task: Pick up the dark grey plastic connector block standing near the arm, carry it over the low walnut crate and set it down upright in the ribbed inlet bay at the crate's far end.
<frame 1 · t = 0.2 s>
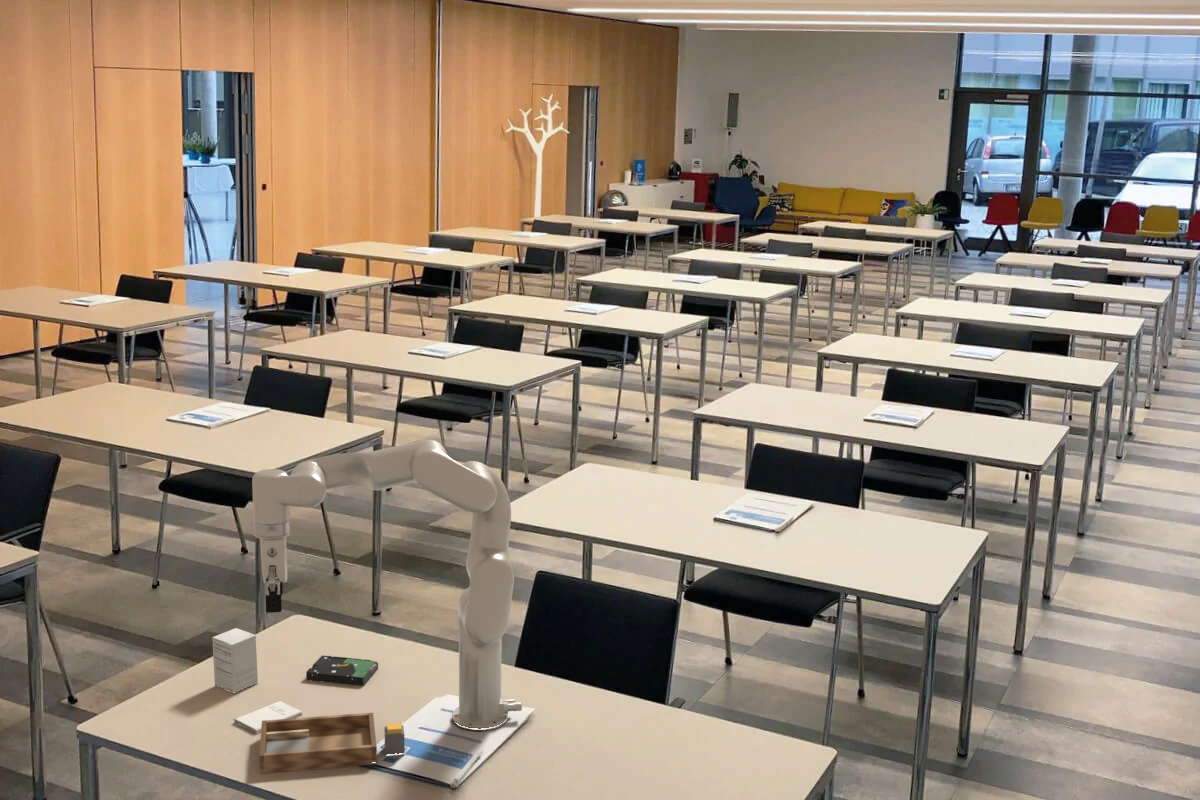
hand: (274, 603, 283), 31 cm above the table, tool pointing down, fingers open, 9 cm apart
connector: (394, 751, 284), on the table
supplement box: (236, 685, 313), on the table
crate: (318, 750, 283), on the table
external hard drive: (268, 721, 297), on the table
disk drive: (342, 677, 321), on the table
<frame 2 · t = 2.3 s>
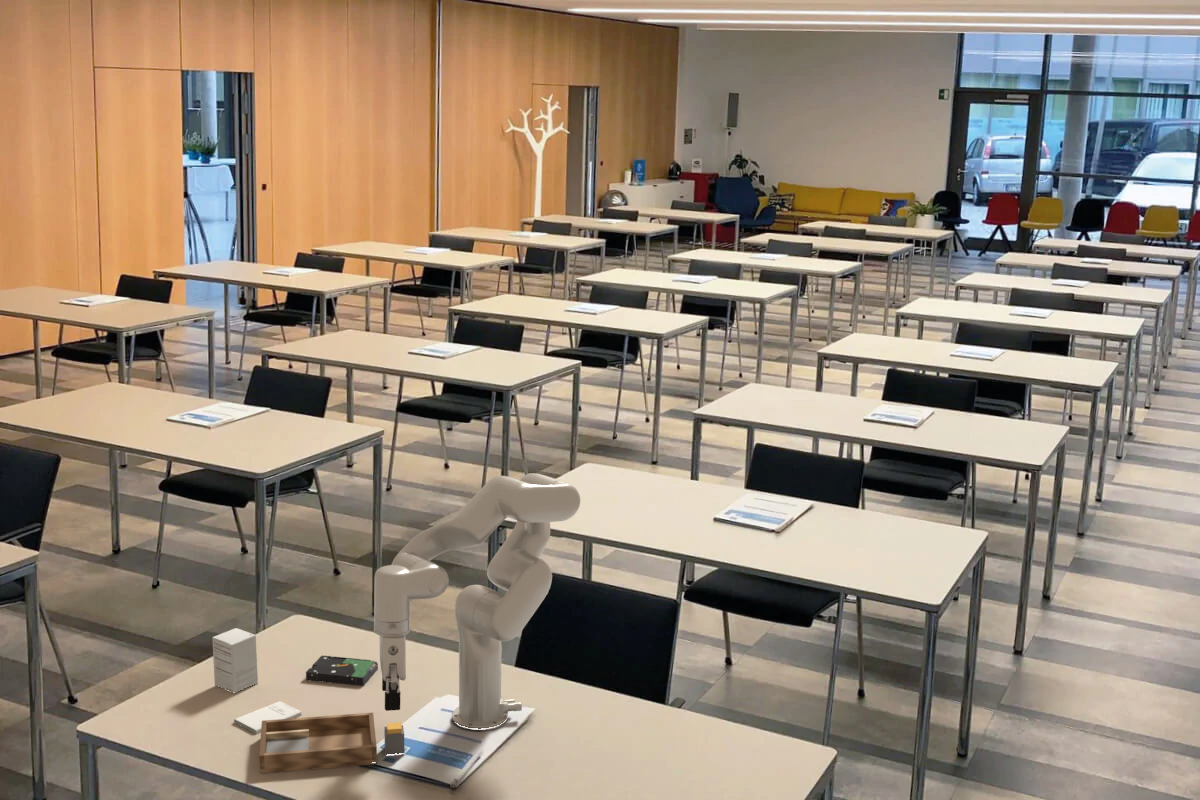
hand: (391, 699, 280), 12 cm above the table, tool pointing down, fingers open, 9 cm apart
nothing on the table moved.
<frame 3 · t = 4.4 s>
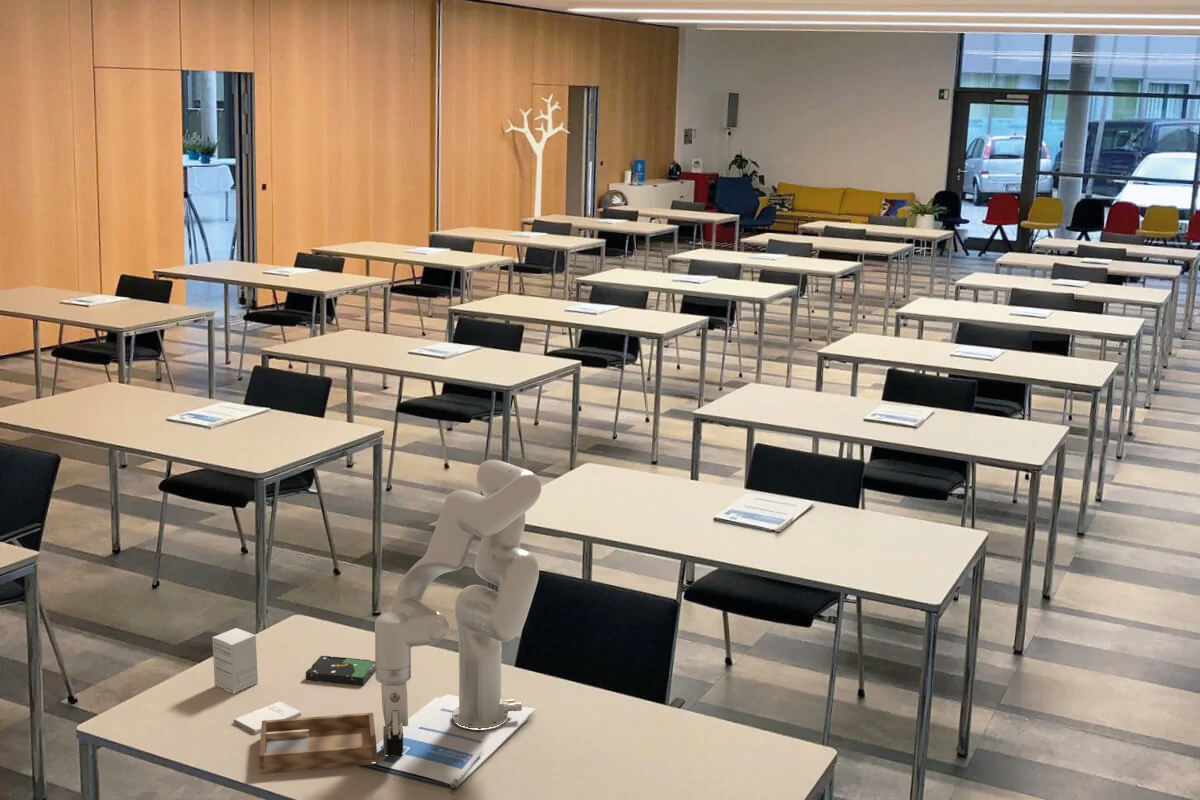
hand: (394, 748, 283), 1 cm above the table, tool pointing down, fingers closed on connector, 3 cm apart
connector: (393, 751, 283), on the table, touching gripper
everything else where it was.
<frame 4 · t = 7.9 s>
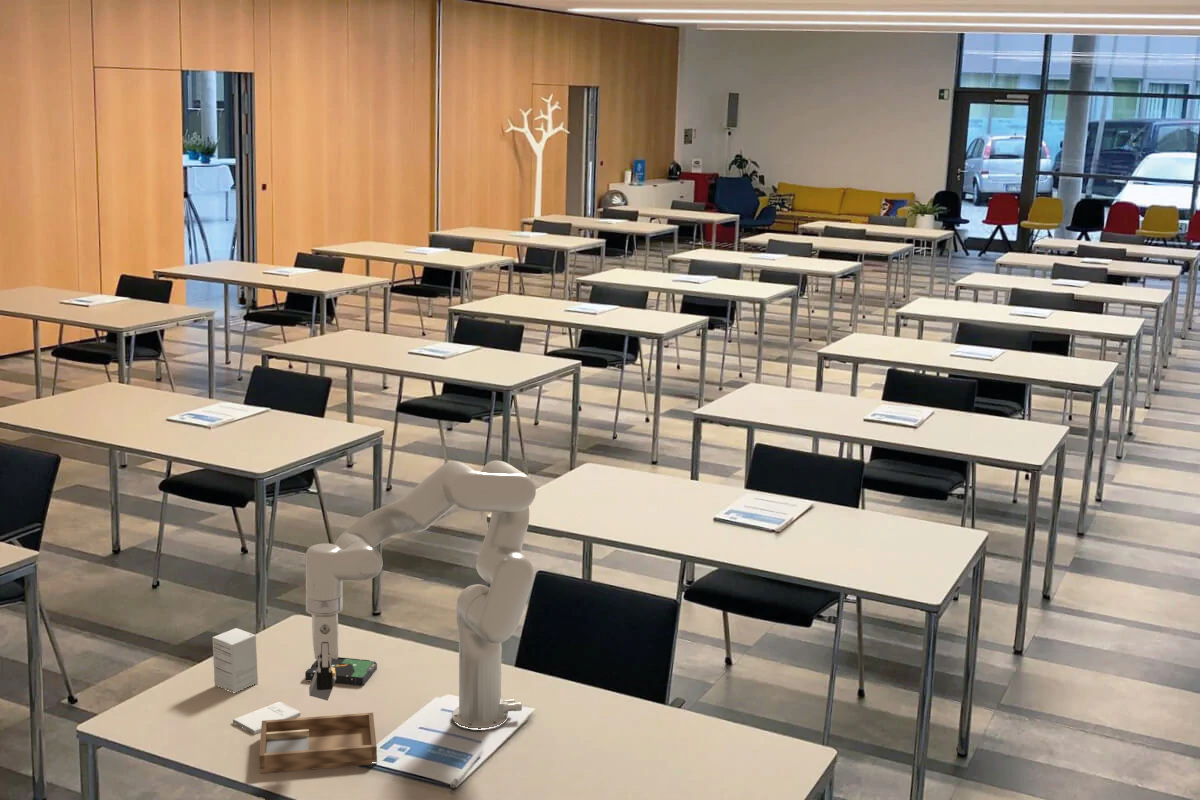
hand: (324, 683, 279), 16 cm above the table, tool pointing down, fingers closed on connector, 4 cm apart
connector: (318, 694, 279), point 14 cm above the table, tilted 22°, touching gripper
everything else where it was.
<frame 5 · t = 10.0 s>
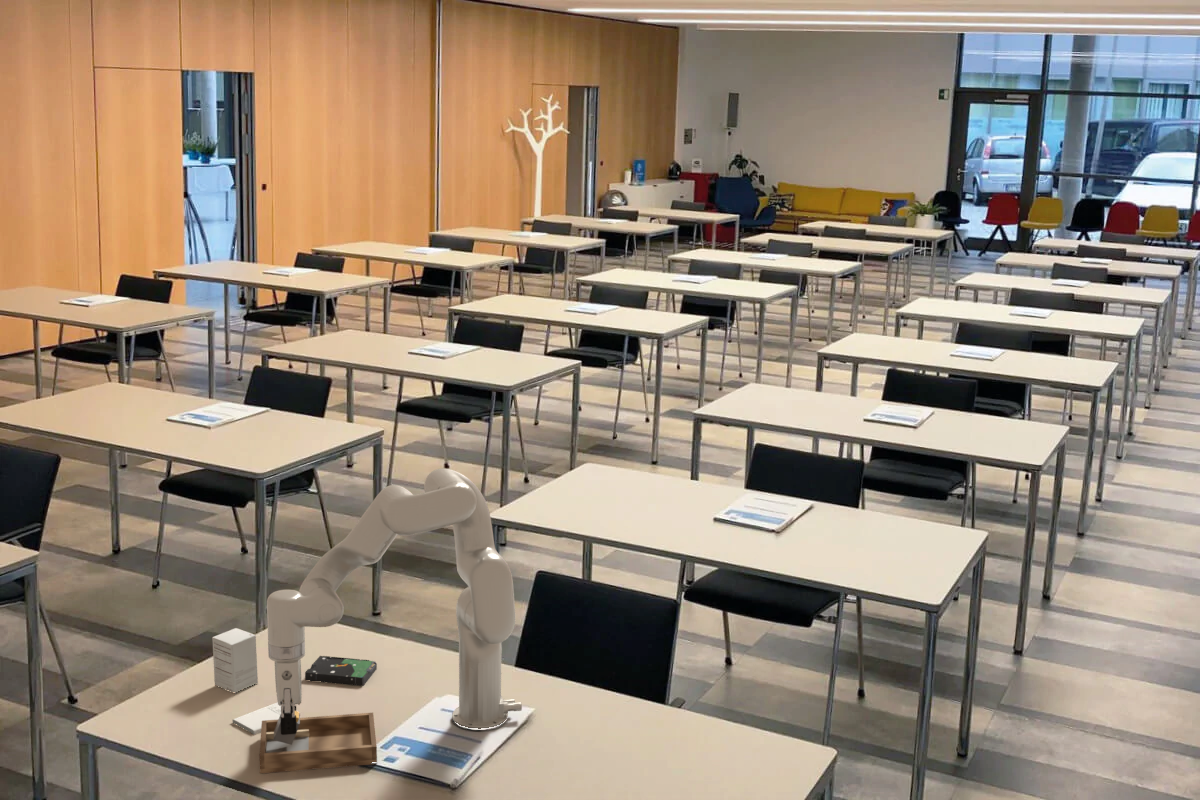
hand: (288, 727, 280), 6 cm above the table, tool pointing down, fingers closed on connector, 4 cm apart
connector: (282, 738, 281), point 4 cm above the table, tilted 21°, touching gripper
everything else where it was.
when the fingers open (3 cm above the table, at t = 11.6 s): connector stays where it is, resting on crate.
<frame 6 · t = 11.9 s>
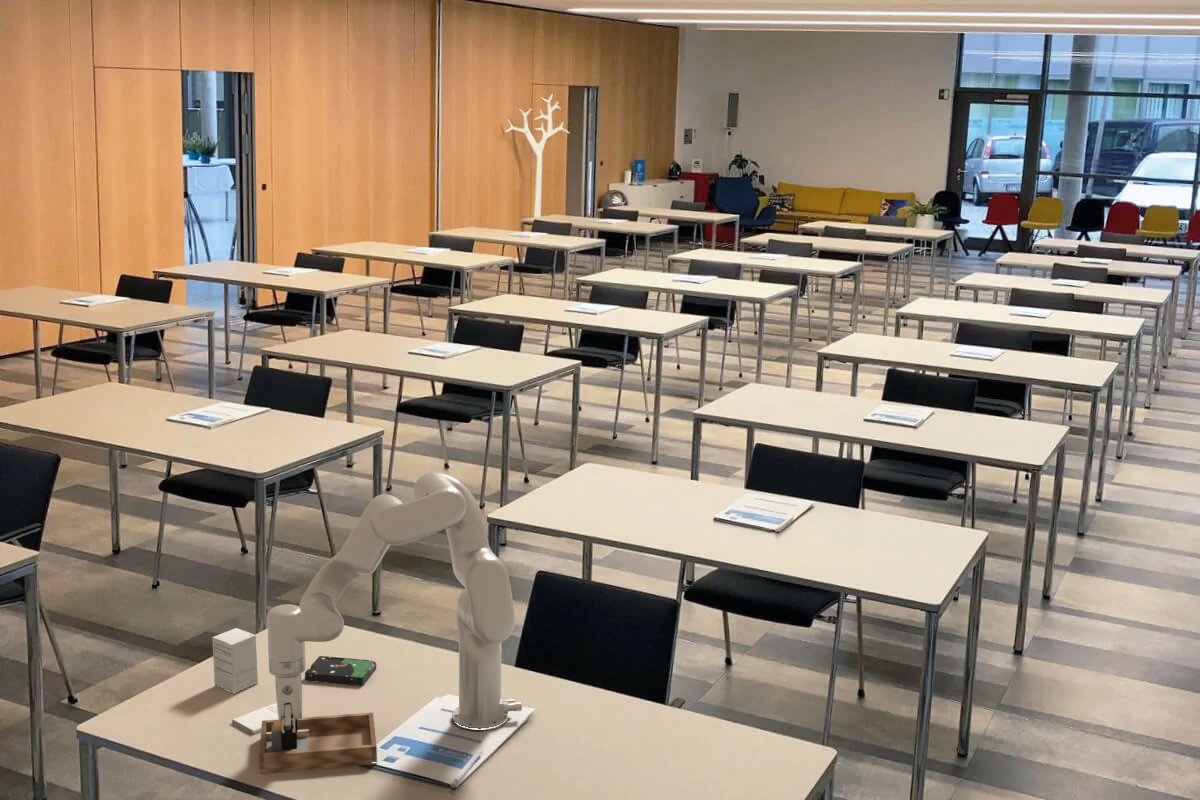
hand: (289, 740, 281), 3 cm above the table, tool pointing down, fingers open, 6 cm apart
connector: (282, 748, 281), point 1 cm above the table, touching crate
everything else where it was.
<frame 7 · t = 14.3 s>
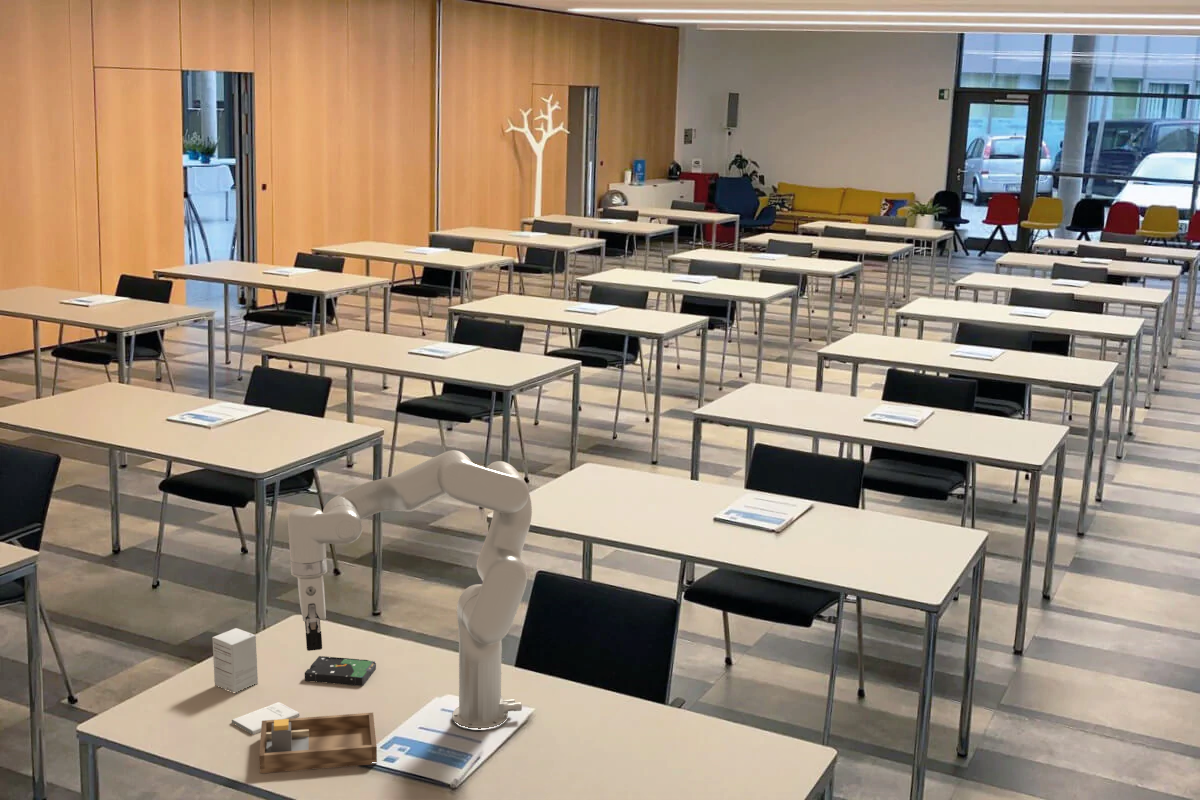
hand: (313, 640, 283), 23 cm above the table, tool pointing down, fingers open, 9 cm apart
nothing on the table moved.
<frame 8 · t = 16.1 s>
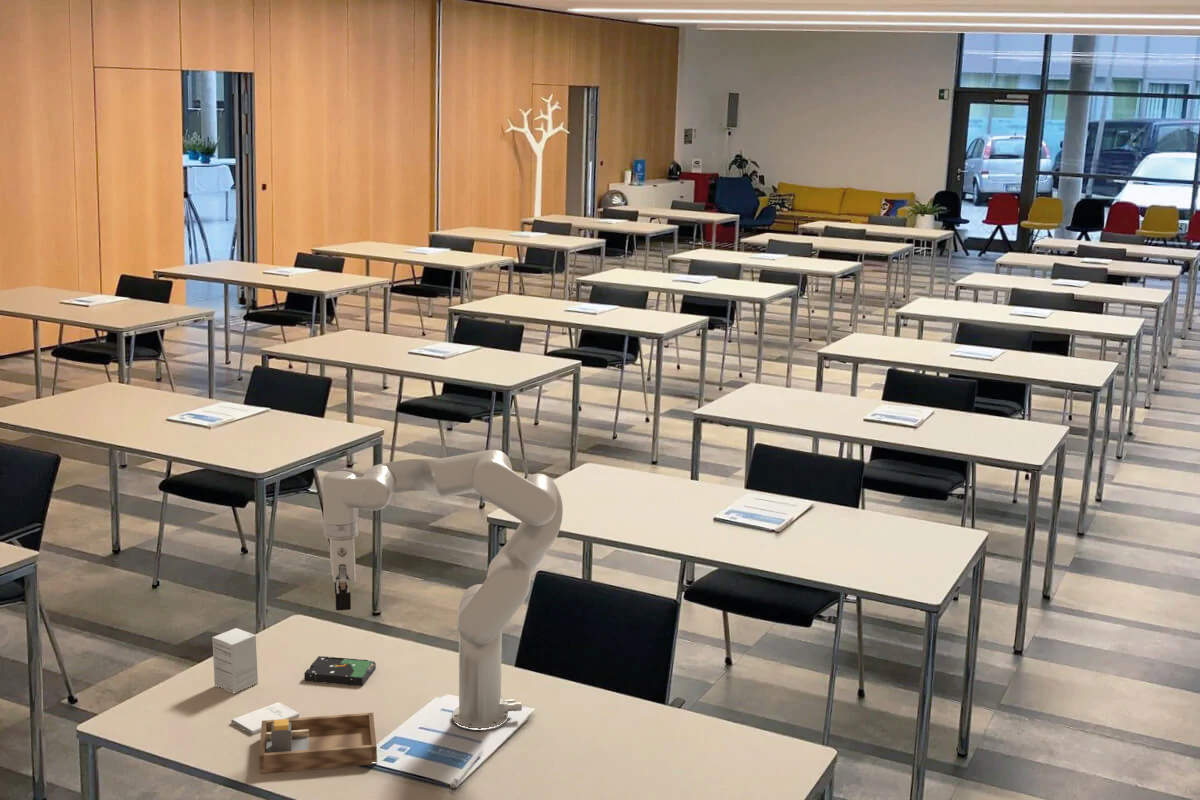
hand: (342, 601, 291), 28 cm above the table, tool pointing down, fingers open, 9 cm apart
nothing on the table moved.
at the end: connector inside the target area on the crate (1.4 cm from its centre), point 1.2 cm above the crate's base; connector tilted 0°; the gripper is holding nothing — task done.
